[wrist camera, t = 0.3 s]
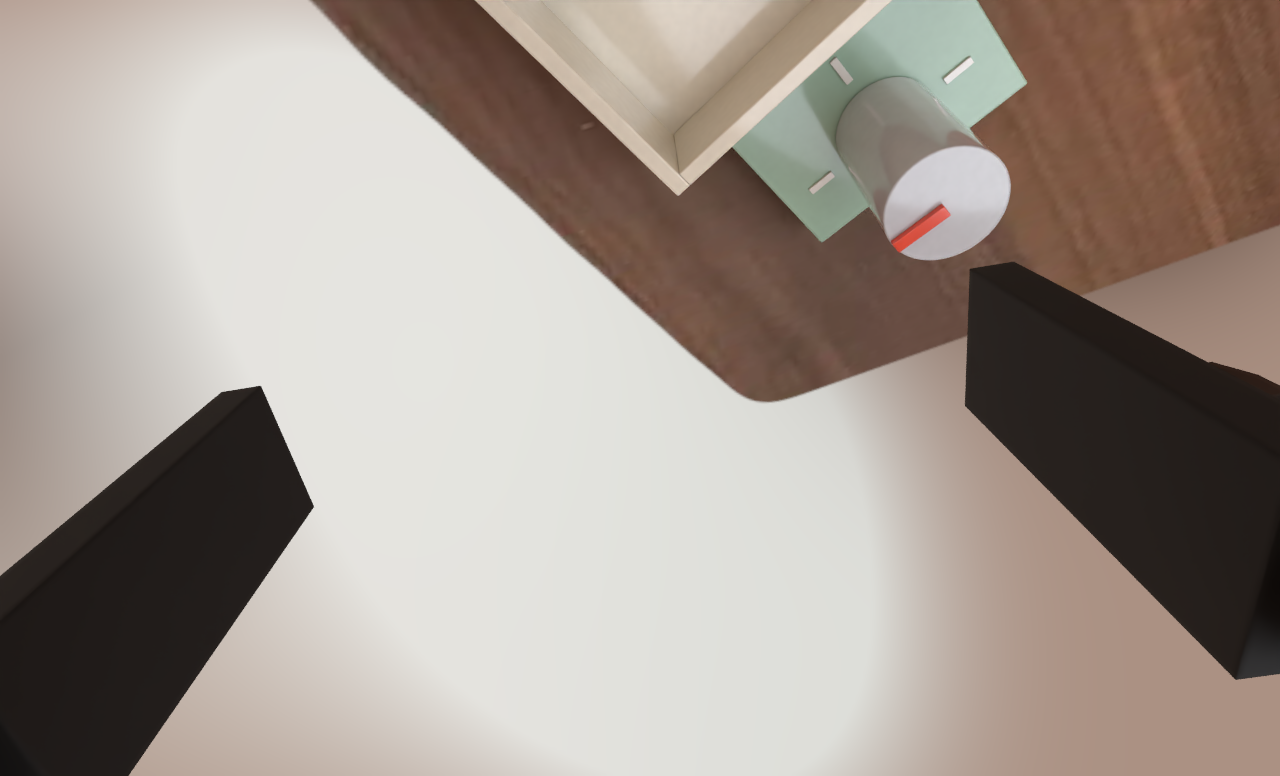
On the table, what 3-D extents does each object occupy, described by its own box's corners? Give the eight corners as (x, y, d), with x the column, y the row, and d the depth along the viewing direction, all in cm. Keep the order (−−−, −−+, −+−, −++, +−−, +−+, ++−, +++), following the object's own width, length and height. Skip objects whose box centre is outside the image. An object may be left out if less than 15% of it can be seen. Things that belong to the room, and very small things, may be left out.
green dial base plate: (924, -64, 32) (945, -55, 30) (1021, 90, 36) (1044, 108, 34) (723, 125, 37) (729, 145, 35) (828, 240, 42) (839, 262, 40)
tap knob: (903, 52, 32) (976, 121, 26) (957, 128, 35) (1036, 209, 28) (815, 129, 35) (861, 210, 28) (871, 196, 37) (925, 285, 30)
